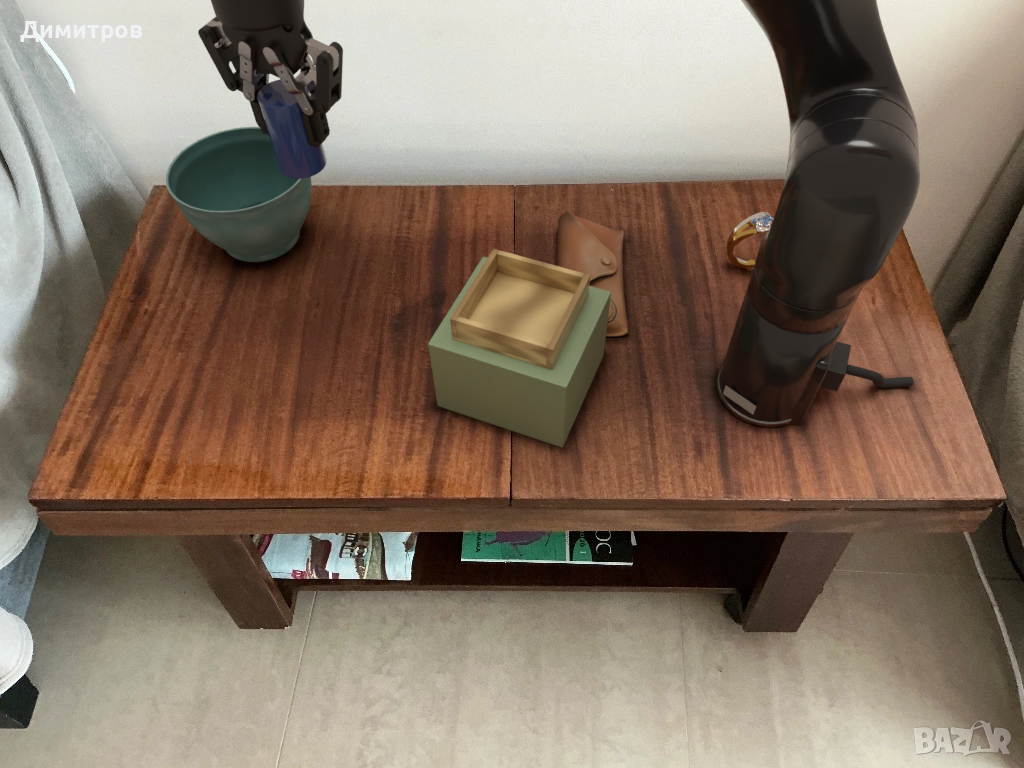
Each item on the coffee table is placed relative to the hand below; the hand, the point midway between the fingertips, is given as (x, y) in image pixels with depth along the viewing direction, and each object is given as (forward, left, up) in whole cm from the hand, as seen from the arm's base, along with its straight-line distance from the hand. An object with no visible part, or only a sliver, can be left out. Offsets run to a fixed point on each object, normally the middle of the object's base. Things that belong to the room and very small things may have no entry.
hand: (295, 135), depth 76 cm
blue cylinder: (0, 0, -3) cm, 3 cm away
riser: (-26, +5, -21) cm, 34 cm away
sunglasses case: (-28, -12, -21) cm, 37 cm away
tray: (-26, +5, -11) cm, 28 cm away
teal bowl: (+13, -4, -21) cm, 25 cm away
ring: (-45, -21, -21) cm, 54 cm away
